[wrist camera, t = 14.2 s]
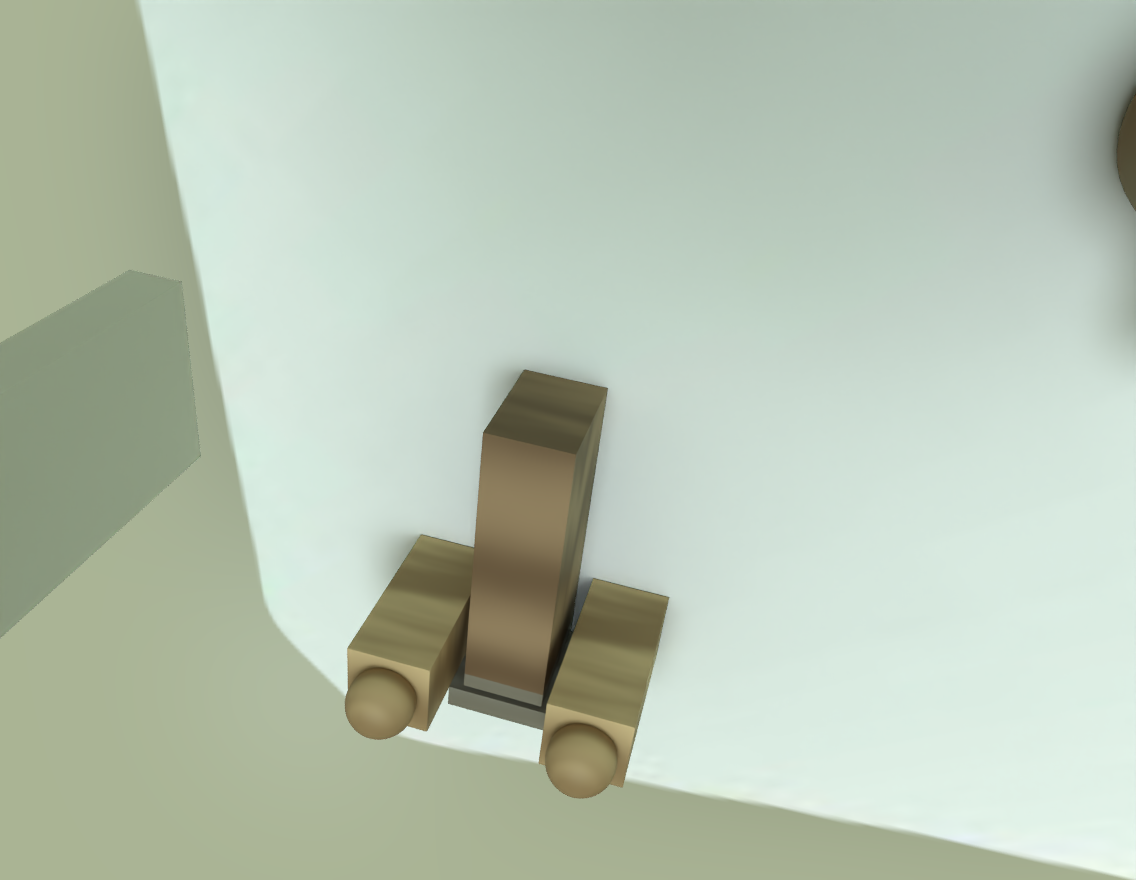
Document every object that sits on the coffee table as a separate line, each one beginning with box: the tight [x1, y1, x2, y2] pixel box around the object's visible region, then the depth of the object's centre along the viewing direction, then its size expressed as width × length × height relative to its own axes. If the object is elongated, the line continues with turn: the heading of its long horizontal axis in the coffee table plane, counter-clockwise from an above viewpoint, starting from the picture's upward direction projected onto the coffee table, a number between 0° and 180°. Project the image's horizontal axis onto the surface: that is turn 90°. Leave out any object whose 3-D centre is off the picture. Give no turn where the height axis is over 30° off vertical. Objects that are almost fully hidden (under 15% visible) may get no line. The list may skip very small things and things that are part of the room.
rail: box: [464, 370, 608, 707], centre depth 47 cm, size 15×4×6 cm, turn 173°
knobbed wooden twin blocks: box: [345, 535, 669, 798], centre depth 48 cm, size 5×14×11 cm, turn 83°
